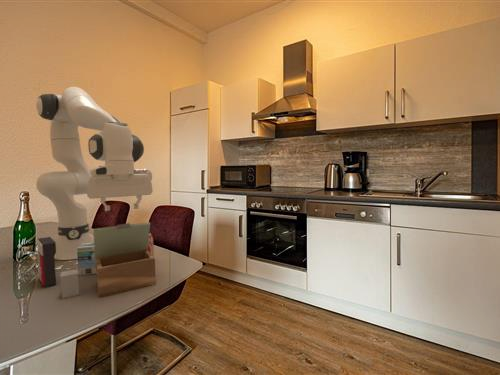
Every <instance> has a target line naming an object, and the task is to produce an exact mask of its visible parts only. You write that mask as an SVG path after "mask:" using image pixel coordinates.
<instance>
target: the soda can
mask: <svg viewBox="0 0 500 375" xmlns="http://www.w3.org/2000/svg"><path fill="white" fill-rule="evenodd" d="M154 250H155V249H154V238H153V236H152V233H150V232H149V242H148V251H149V252H150V253H151V255H152V256H153V257H154V255H155V253H154ZM154 258H155V257H154Z"/></svg>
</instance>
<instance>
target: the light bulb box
mask: <svg viewBox="0 0 500 375" xmlns="http://www.w3.org/2000/svg"><path fill="white" fill-rule="evenodd" d="M77 257H78V259H77V269H78V276H85V275H86V276H87V275H96V258H95V253H94V241H93V243H82V244H81V245H80V246H79V247H78V248H77Z"/></svg>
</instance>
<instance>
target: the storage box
mask: <svg viewBox="0 0 500 375" xmlns="http://www.w3.org/2000/svg"><path fill="white" fill-rule="evenodd" d="M95 275H96V285H97V293H98V297H99V298H102V297H107V296H111V295H115V294H116V295H117V294H119V293H123V292H128V291H132V290H136V289H141V288H144V287H149V286H153V285H156V284H157V278H156V276H157V274H156V258H155V257H153V256H152V255H151V253H150V252H149V251H148V250H142V251H136V252H130V253H124V254H118V255H112V256H106V257H101V258H96V274H95Z"/></svg>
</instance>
